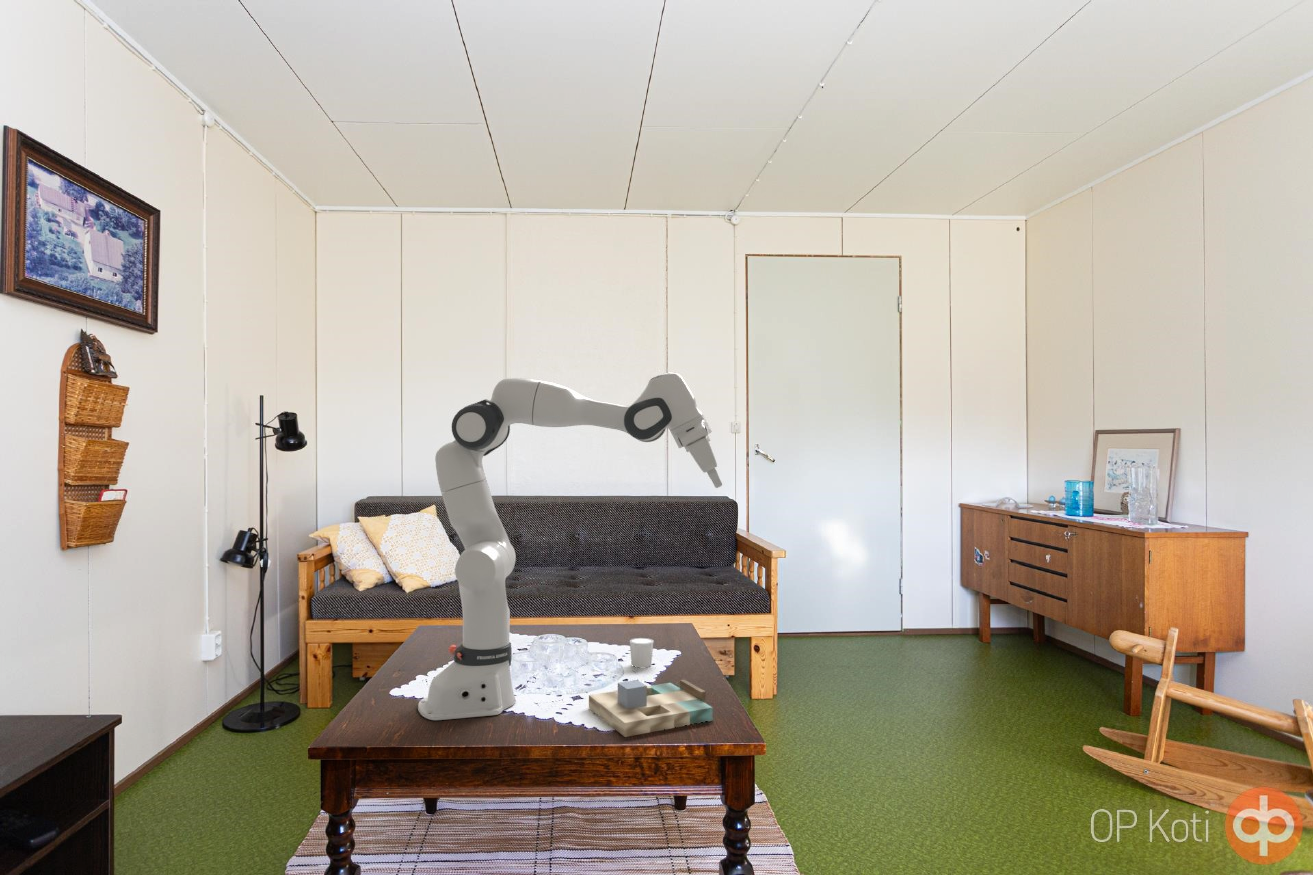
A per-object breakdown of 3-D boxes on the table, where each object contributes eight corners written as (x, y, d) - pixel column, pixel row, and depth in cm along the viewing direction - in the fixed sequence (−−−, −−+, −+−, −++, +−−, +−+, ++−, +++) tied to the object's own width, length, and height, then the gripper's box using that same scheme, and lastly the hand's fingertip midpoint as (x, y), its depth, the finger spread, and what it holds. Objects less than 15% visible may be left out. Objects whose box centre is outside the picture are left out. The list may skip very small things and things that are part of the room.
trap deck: (624, 736, 161) (625, 713, 161) (588, 707, 179) (588, 686, 179) (716, 719, 172) (717, 697, 172) (674, 693, 190) (674, 673, 190)
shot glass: (650, 669, 211) (650, 644, 211) (626, 667, 212) (627, 642, 212) (655, 662, 217) (655, 638, 217) (632, 661, 219) (632, 636, 219)
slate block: (626, 709, 170) (627, 688, 170) (617, 702, 174) (617, 682, 174) (646, 705, 172) (646, 685, 172) (636, 699, 177) (637, 679, 177)
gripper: (681, 440, 192) (706, 488, 191) (680, 440, 171) (707, 494, 171) (703, 428, 192) (728, 477, 191) (704, 427, 171) (732, 481, 171)
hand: (718, 485), depth 181 cm, fingers open, 8 cm apart
